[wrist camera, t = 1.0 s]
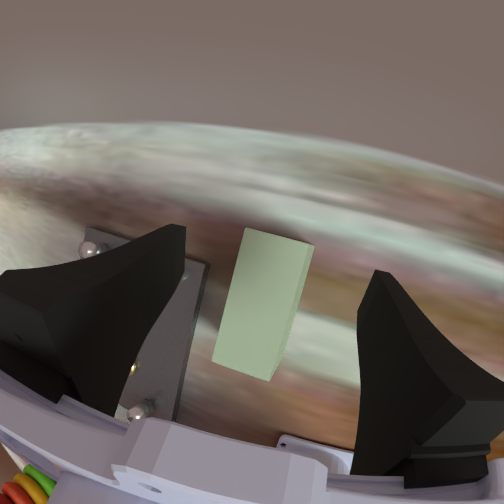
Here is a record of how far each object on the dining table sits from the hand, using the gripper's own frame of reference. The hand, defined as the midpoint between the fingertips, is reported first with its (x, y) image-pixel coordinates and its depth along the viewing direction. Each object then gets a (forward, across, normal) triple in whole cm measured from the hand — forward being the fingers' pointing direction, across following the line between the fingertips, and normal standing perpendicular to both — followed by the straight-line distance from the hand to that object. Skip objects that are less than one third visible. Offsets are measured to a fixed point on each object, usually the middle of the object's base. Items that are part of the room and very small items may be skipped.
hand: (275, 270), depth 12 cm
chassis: (+8, +12, +15) cm, 21 cm away
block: (+9, 0, +9) cm, 13 cm away
